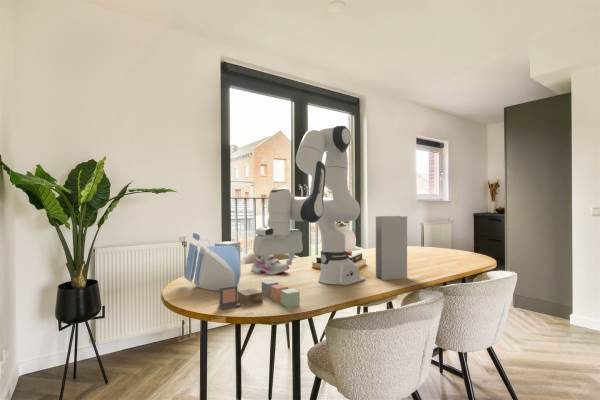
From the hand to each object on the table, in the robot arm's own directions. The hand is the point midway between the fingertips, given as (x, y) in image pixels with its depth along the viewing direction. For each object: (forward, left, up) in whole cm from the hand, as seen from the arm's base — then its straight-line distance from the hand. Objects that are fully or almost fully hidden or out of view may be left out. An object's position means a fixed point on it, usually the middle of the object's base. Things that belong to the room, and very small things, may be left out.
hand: (278, 265), depth 130 cm
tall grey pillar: (-63, -1, -13) cm, 65 cm away
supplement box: (+3, -48, -13) cm, 50 cm away
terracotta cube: (0, 0, -13) cm, 13 cm away
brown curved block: (+11, -3, -13) cm, 17 cm away
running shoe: (-19, -45, -13) cm, 50 cm away
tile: (+20, -1, -13) cm, 23 cm away
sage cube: (0, +8, -13) cm, 15 cm away
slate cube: (0, -8, -13) cm, 15 cm away
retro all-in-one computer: (+14, -31, -13) cm, 36 cm away
